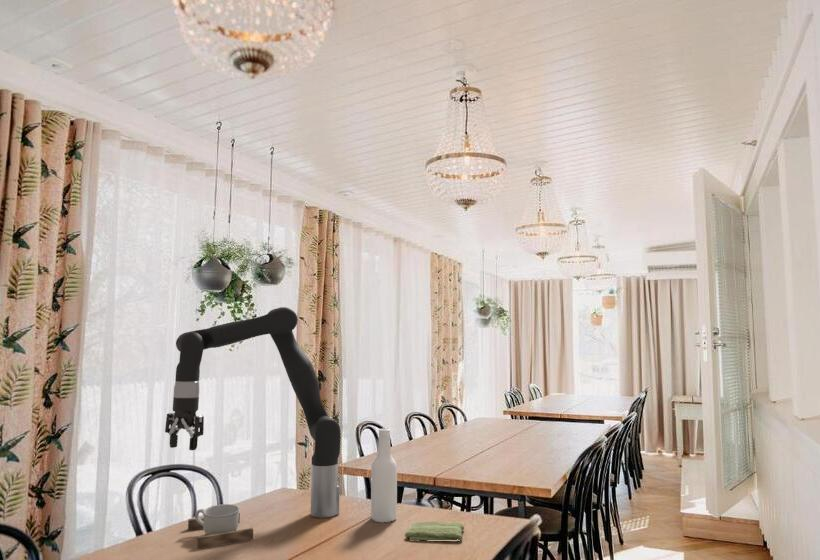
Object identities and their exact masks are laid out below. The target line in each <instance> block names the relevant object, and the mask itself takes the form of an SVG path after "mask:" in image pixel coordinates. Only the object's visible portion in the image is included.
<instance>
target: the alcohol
mask: <svg viewBox="0 0 820 560" xmlns="http://www.w3.org/2000/svg"><path fill="white" fill-rule="evenodd" d="M377 441H378V442H377V443H378V444H377V445H378V446H377V455H376V457H375V458H374V459H373V461H372V464H371V469H370V470H371V472H370V473H371V474H370V475H371V476H370V477H371V479H370V480H371V482H370V484H371V485H370V489H371V490H370V519H372V521H373V522H375V523H379V522H380V523H382V524H385V523H386V522H387V523H392V522H395V520H396V519H397V517H398V515H397V514H398V513H397V511H398V465H397V462H396V460H395V459H394V458H393V455H392V448H391V447H392V446H391V429H390V428H386V427H385V428H379V429H378V440H377ZM391 521H392V522H391ZM384 522H385V523H384ZM387 523H386V524H387Z"/></svg>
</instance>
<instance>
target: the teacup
mask: <svg viewBox="0 0 820 560" xmlns="http://www.w3.org/2000/svg"><path fill="white" fill-rule="evenodd" d="M200 513H201V514H202V515H203V517H204V522H203V521H202V520H201V519H200V518H201V517H200V516H199V515H200ZM239 513H240V507H239V506H238V505H236V504H232V503H231V504H230V503H227V504H225V503H222V504H216V505H211V506H209V507H207V508H200V509H199V508H198V510H196V511H195V513H194V519H196V521H197V522H198V523H199V524H200V525H202V526H203V528H202V529H203V531H204V533H205V535H211V534H217V533H224V532H230V531H236V530H237V529H238V527H239V523H238V522H239Z"/></svg>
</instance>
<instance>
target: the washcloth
mask: <svg viewBox="0 0 820 560" xmlns="http://www.w3.org/2000/svg"><path fill="white" fill-rule="evenodd" d="M464 530H465V526H464V524H463V523H462V522H461V521H449V522H448V521H416V522H413V523H411V524H410V526H409V527H408V528H407V531H405V533H404V537H407V538H409V541H410V540H457V539H458V540H461V539H462V540H463V533H464ZM462 532H463V533H462ZM462 540H461V541H462Z"/></svg>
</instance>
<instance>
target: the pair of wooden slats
mask: <svg viewBox="0 0 820 560" xmlns="http://www.w3.org/2000/svg"><path fill="white" fill-rule="evenodd" d="M240 516H241V513H240V512H239V522H238V524H240V523H241V522H240V519H241V517H240ZM199 518H200V519H201V520H202V521H203V522H204V516H203V517H199ZM187 520H188V522H187V530H188V531H194V530H200V529H201V530H202V529H204V528H203V526H202V525H200V524H199V523H198V522H197V521H196V519H195V518H189V519H187ZM196 540H197V541H196V548H197V549H204V548H205V549H206V548H212V547H218V546H223V544H224V545H230V544H235V542H236V543H240V542H241V543H242V542H248V541H253V540H254V528H253V527H251V528H244V529H238V530H237V529H236V531H230V532H224V533H217V534H211V535H207V534H205V535H199V536H197V539H196ZM229 543H230V544H229Z"/></svg>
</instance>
